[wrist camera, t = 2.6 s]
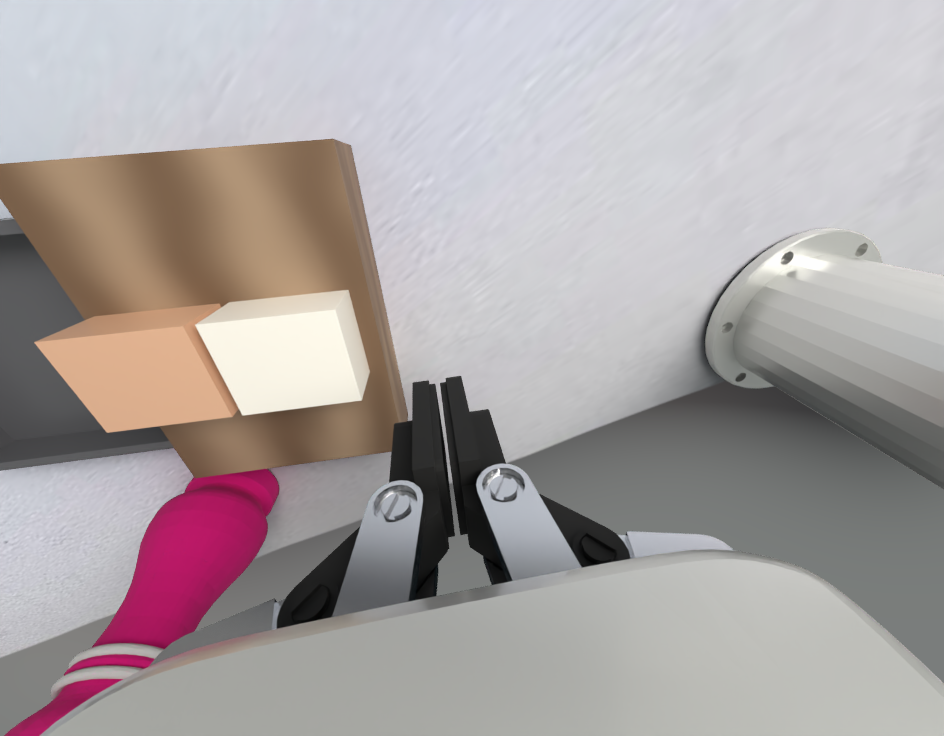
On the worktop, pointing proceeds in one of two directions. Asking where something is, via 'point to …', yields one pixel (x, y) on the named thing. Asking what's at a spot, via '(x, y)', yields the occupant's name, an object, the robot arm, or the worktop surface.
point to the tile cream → (288, 351)
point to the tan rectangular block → (142, 368)
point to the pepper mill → (170, 584)
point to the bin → (45, 371)
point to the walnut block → (222, 269)
